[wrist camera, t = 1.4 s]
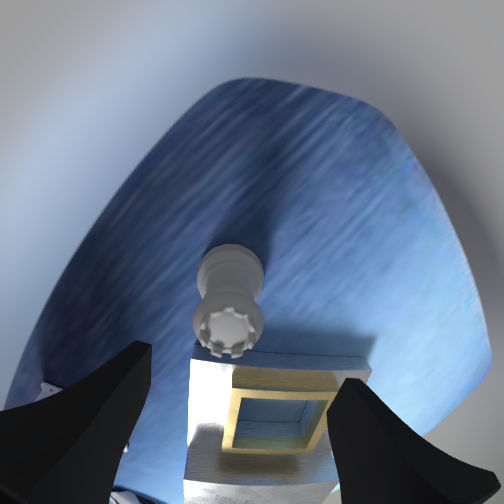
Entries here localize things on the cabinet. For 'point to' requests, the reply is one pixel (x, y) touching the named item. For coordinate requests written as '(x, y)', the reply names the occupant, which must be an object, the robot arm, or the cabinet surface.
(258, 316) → the rook chess piece
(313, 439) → the white stepped block
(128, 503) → the computer mouse
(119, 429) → the robot arm
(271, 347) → the cabinet surface
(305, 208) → the cabinet surface
